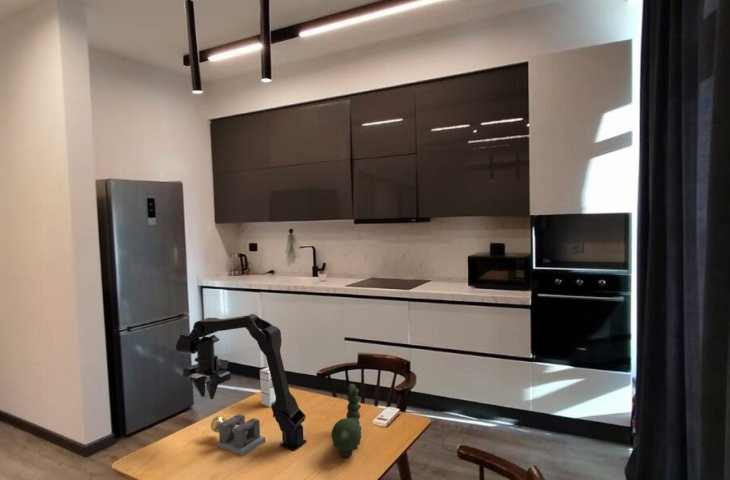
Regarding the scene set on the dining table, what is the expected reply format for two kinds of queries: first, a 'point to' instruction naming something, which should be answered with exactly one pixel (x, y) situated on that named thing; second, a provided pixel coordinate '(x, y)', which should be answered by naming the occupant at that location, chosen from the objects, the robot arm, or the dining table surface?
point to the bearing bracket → (240, 435)
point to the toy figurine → (348, 426)
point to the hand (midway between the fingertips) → (207, 397)
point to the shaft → (219, 420)
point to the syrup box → (267, 388)
